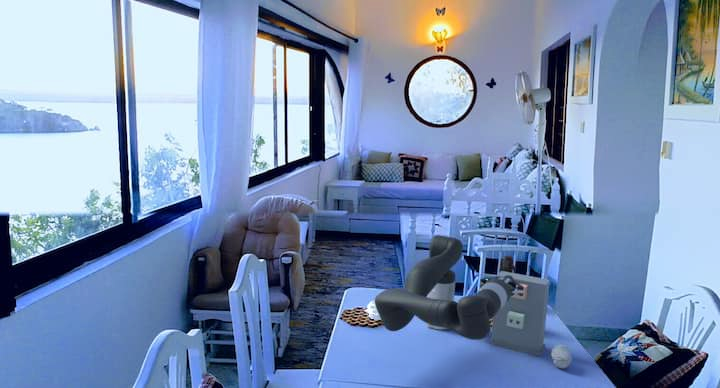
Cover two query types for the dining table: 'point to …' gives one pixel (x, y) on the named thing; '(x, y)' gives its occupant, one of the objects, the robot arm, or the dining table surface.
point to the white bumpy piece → (373, 311)
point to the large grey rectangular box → (535, 317)
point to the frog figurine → (561, 356)
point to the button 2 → (515, 319)
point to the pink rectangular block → (523, 293)
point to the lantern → (507, 263)
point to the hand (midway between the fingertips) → (509, 278)
